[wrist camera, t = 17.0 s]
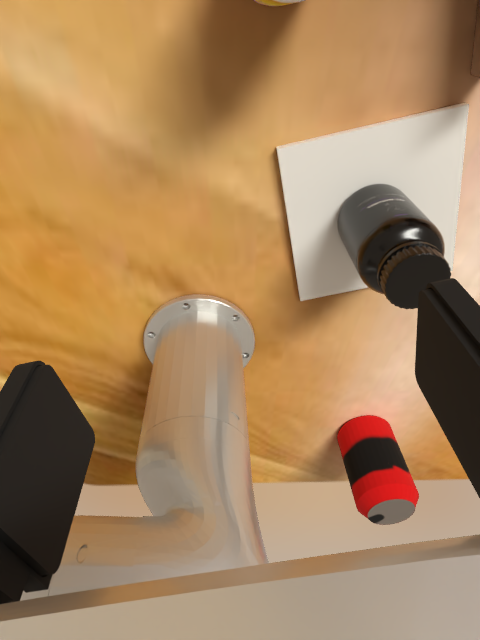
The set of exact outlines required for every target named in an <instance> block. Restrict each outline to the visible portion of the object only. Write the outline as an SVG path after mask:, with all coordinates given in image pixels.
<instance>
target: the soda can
mask: <svg viewBox="0 0 480 640" xmlns="http://www.w3.org/2000/svg"><path fill="white" fill-rule="evenodd" d="M337 439H338V443H339V447H340V450H341V454H342V457H343V461H344V465H345V468H346V472H347V475H348V479H349V482H350V486H351V489H352V493H353V496H354V500H355V503H356V507H357V509H358V511H359V512H360V513H361V514H362V515H364V516H365V517H367V518H368V519H369V520H370V521H371V522H373V523H376V524H380V525H388V524H395V523H399V522H401V521H403V520H406V519H407V518H409V517H410V516H411V515H412V514H413V513H414V511H415V507H416V504H417V501H418V498H419V494H418V491H417V489H416V486H415V484H414V482H413V479H412V477H411V474H410V472H409V470H408V467H407V465H406V462H405V460H404V458H403V455H402V453H401V451H400V448H399V446H398V443H397V441H396V439H395V436H394V434H393V432H392V429H391V427H390V424H389V423H388V422H387V421H386V420H384V419H382V418H380V417H377V416H371V415H367V416H360V417H356V418H354V419H351V420H350V421H348V422H346V423H345V424H344V425H343V426H342V427H341V429H340V430H339V432H338V436H337Z"/></svg>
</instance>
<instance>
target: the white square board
mask: <svg viewBox="0 0 480 640" xmlns="http://www.w3.org/2000/svg"><path fill="white" fill-rule="evenodd" d="M468 110H469V104H467V103H461V104H457V105H452V106H448V107H444V108H439V109H435V110H431V111H427V112H422V113H418V114H414V115H410V116H405V117H401V118H397V119H393V120H388V121H384V122H380V123H375V124H371V125H367V126H363V127H358V128H354V129H350V130H346V131H341V132H337V133H333V134H328V135H324V136H320V137H316V138H311V139H307V140H303V141H299V142H294V143H290V144H286V145H281V146H277V147H276V150H277V156H278V162H279V169H280V175H281V182H282V188H283V195H284V201H285V208H286V214H287V221H288V227H289V234H290V240H291V246H292V253H293V259H294V266H295V272H296V279H297V285H298V292H299V298H300V301H304V300H308V299H313V298H318V297H323V296H328V295H333V294H338V293H343V292H348V291H353V290H358V289H363V288H368V286H367V285H366V284H365V283H364V282H363V281H362V279H361V278H360V276H359V274H358V272H357V270H356V268H355V266H354V264H353V262H352V260H351V258H350V256H349V254H348V252H347V250H346V248H345V246H344V244H343V242H342V240H341V238H340V236H339V233H338V228H337V221H338V215H339V212H340V210H341V208H342V206H343V204H344V203H345V201H346V200H347V199H348V198H349V197H350V196H351V195H352V194H353V193H354V192H356V191H357V190H359V189H361V188H363V187H365V186H368V185H372V184H388V185H391V186H394V187H396V188H398V189H399V190H400V191H402V192H403V193H404V194H405V195H406V196H407V197H408V198H409V199H410V200H411V201H412V202H413V203H414V204H415V205H416V206H417V207H418V208H419V209H420V210H421V211H422V212H423V213H424V214H425V216H426V217H427V218H428V219H429V220H430V221H431V222H432V223H433V224H434V225H435V226H436V227H437V228H438V230H439V231H440V233H441V234H442V237H443V240H444V244H445V253H444V258H445V260H446V261H447V262H448V263H449V267H450V268H451V270H450V271H452V269H453V260H454V250H455V240H456V230H457V220H458V210H459V200H460V190H461V180H462V170H463V160H464V150H465V140H466V130H467V120H468Z"/></svg>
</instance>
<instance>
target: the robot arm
mask: <svg viewBox="0 0 480 640" xmlns="http://www.w3.org/2000/svg"><path fill="white" fill-rule="evenodd" d="M254 347H255V336H254V331H253V327H252V324H251V322H250V321H249V319H248V317H247V316H246V315H245V314H244V312H243V311H242V310H240V309H239V308H238V307H237V306H236V305H234V304H232V303H230V302H229V301H227V300H225V299H222V298H219V297H216V296H210V295H187V296H181V297H178V298H175V299H173V300H170V301H169V302H167V303H165V304H163V305H162V306H161V307H159V308H158V309H157V310H156V311H155V312H154V313H153V314H152V316H151V317H150V318H149V321H148V323H147V325H146V328H145V332H144V348H145V352H146V354H147V357H148V359H149V360H150V362H151V363H152V364H153V367H152V373H151V378H150V384H149V390H148V395H147V401H146V406H145V412H144V417H143V423H142V428H141V434H140V439H139V445H138V451H137V457H136V477H137V482H138V486H139V489H140V492H141V494H142V496H143V498H144V501H145V502H146V504H147V506H148V507H149V509H150V511H151V513H152V514H153V516H143V517H115V516H114V517H113V516H83V515H81V516H74V514H75V510H76V507H77V504H78V500H79V496H80V493H81V489H82V486H83V482H84V479H85V475H86V472H87V468H88V465H89V461H90V458H91V454H92V451H93V447H94V443H95V435H94V431H93V429H92V428H91V426H90V425H89V423H88V421H87V420H86V418H85V417H84V415H83V414H82V412H81V411H80V409H79V408H78V406H77V405H76V403H75V401H74V400H73V398H72V397H71V395H70V394H69V392H68V391H67V389H66V388H65V386H64V385H63V383H62V382H61V380H60V378H59V377H58V375H57V374H56V372H55V371H54V369H53V368H52V367H51V366H50V365H45V363H43V362H42V361H35V362H30V363H25V364H20V365H17V366H15V368H14V369H13V370H12V372H11V374H10V376H9V377H8V379H7V381H6V383H5V384H4V386H3V388H2V390H1V391H0V640H480V535H473V536H465V537H457V538H449V539H442V540H433V541H424V542H417V543H409V544H402V545H396V546H395V545H394V546H387V547H380V548H373V549H366V550H359V551H352V552H345V553H338V554H331V555H324V556H317V557H310V558H304V559H296V560H289V561H282V562H275V563H268V559H267V555H266V551H265V547H264V544H263V540H262V535H261V531H260V527H259V522H258V517H257V512H256V506H255V500H254V493H253V484H252V474H251V462H250V449H249V437H248V424H247V411H246V397H245V384H244V371H243V368H244V367H245V366H246V365H247V364H248V362H249V361H250V359H251V357H252V355H253V352H254ZM415 375H416V380H417V383H418V385H419V387H420V389H421V391H422V393H423V395H424V396H425V398H426V400H427V402H428V404H429V406H430V407H431V409H432V411H433V413H434V415H435V417H436V419H437V420H438V422H439V424H440V426H441V428H442V430H443V431H444V433H445V435H446V437H447V439H448V441H449V442H450V444H451V446H452V448H453V450H454V452H455V454H456V455H457V457H458V459H459V461H460V463H461V465H462V466H463V468H464V470H465V472H466V474H467V476H468V478H469V479H470V481H471V483H472V485H473V486H474V488H475V490H476V492H477V494H478V496H479V498H480V306H479V305H478V304H477V302H476V301H475V300H474V299H473V298H472V297H471V296H470V295H469V294H468V292H467V291H466V290H465V289H464V288H463V287H462V286H461V285H460V284H459V282H458V281H457V280H455V279H453V278H451V279H446V280H441V281H436V282H431V283H428V284H427V286H426V290H422V291H420V292H419V298H418V319H417V340H416V361H415Z"/></svg>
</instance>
